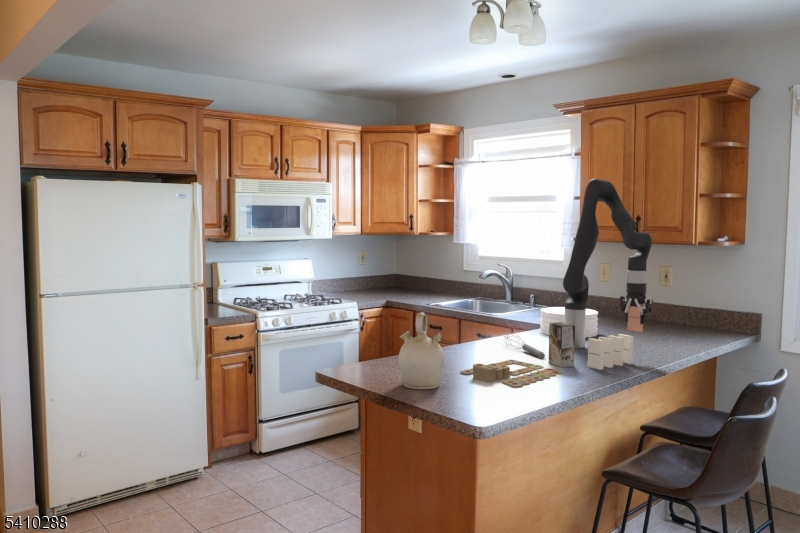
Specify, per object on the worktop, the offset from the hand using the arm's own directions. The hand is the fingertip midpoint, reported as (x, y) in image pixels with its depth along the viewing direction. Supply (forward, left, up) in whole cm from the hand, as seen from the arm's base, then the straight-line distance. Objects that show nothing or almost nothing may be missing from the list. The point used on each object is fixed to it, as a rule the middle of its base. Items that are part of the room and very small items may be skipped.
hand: (635, 322), depth 258 cm
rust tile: (0, 0, -3) cm, 3 cm away
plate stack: (-36, +54, -16) cm, 67 cm away
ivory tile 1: (-3, -5, -15) cm, 17 cm away
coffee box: (-25, -21, -16) cm, 36 cm away
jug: (-61, -76, -16) cm, 99 cm away
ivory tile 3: (-9, -16, -15) cm, 24 cm away
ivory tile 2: (-6, -10, -15) cm, 20 cm away
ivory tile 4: (-12, -21, -15) cm, 29 cm away
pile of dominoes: (-38, -44, -16) cm, 61 cm away
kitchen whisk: (-44, -2, -16) cm, 47 cm away
